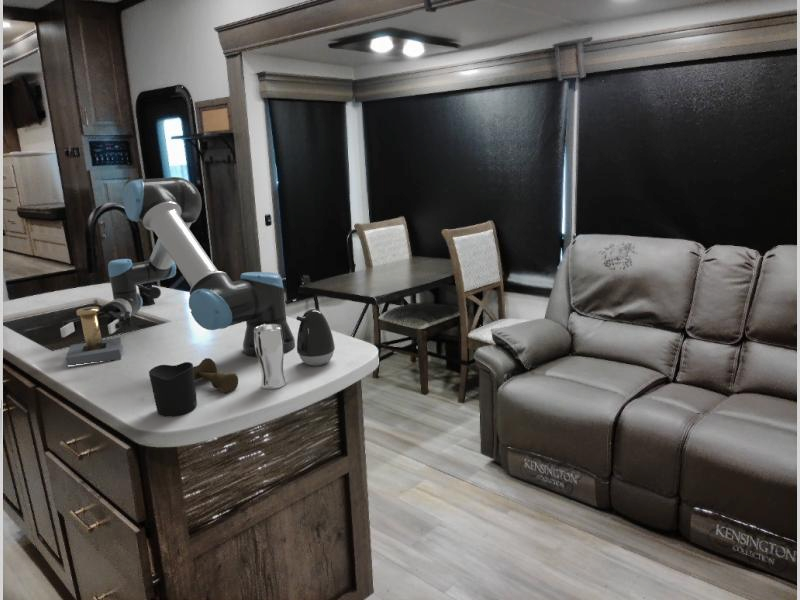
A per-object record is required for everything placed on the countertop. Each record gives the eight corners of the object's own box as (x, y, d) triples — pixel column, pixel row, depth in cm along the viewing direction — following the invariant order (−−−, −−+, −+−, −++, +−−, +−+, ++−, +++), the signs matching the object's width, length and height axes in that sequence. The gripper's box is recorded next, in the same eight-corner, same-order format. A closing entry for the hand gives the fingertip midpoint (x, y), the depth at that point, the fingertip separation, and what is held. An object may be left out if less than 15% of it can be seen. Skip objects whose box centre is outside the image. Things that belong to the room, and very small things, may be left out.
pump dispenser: (290, 364, 161) (284, 311, 158) (319, 353, 169) (315, 302, 165) (314, 372, 155) (308, 316, 151) (343, 360, 162) (339, 307, 158)
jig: (121, 359, 174) (119, 349, 173) (67, 368, 169) (65, 358, 168) (122, 346, 187) (120, 337, 186) (72, 354, 181) (70, 344, 181)
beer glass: (279, 391, 143) (272, 332, 139) (254, 389, 145) (247, 331, 142) (292, 380, 149) (287, 324, 146) (268, 378, 152) (262, 323, 148)
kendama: (216, 401, 141) (165, 385, 152) (247, 388, 148) (197, 373, 159) (214, 378, 139) (163, 363, 150) (246, 366, 147) (195, 352, 158)
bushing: (107, 357, 176) (98, 309, 173) (84, 361, 174) (75, 312, 170) (107, 351, 182) (99, 305, 178) (86, 355, 179) (77, 308, 176)
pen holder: (175, 421, 130) (168, 378, 127) (146, 413, 134) (139, 372, 132) (207, 404, 138) (201, 364, 135) (179, 398, 142) (173, 359, 140)
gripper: (155, 320, 194) (131, 340, 174) (78, 326, 193) (44, 346, 173) (152, 298, 193) (127, 315, 172) (74, 304, 191) (39, 321, 171)
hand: (85, 331), depth 172 cm, fingers open, 13 cm apart
